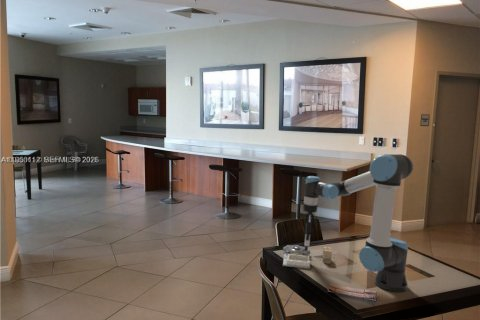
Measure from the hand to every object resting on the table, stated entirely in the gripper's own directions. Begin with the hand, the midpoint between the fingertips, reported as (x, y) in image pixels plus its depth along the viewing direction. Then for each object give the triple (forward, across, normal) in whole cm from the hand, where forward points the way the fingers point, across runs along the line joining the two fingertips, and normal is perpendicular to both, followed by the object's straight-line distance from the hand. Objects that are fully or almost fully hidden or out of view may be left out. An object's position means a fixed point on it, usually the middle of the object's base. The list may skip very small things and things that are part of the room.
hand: (306, 245), depth 215 cm
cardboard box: (+8, +2, -12) cm, 15 cm away
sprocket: (+7, +8, +5) cm, 12 cm away
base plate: (+9, +2, +5) cm, 10 cm away
